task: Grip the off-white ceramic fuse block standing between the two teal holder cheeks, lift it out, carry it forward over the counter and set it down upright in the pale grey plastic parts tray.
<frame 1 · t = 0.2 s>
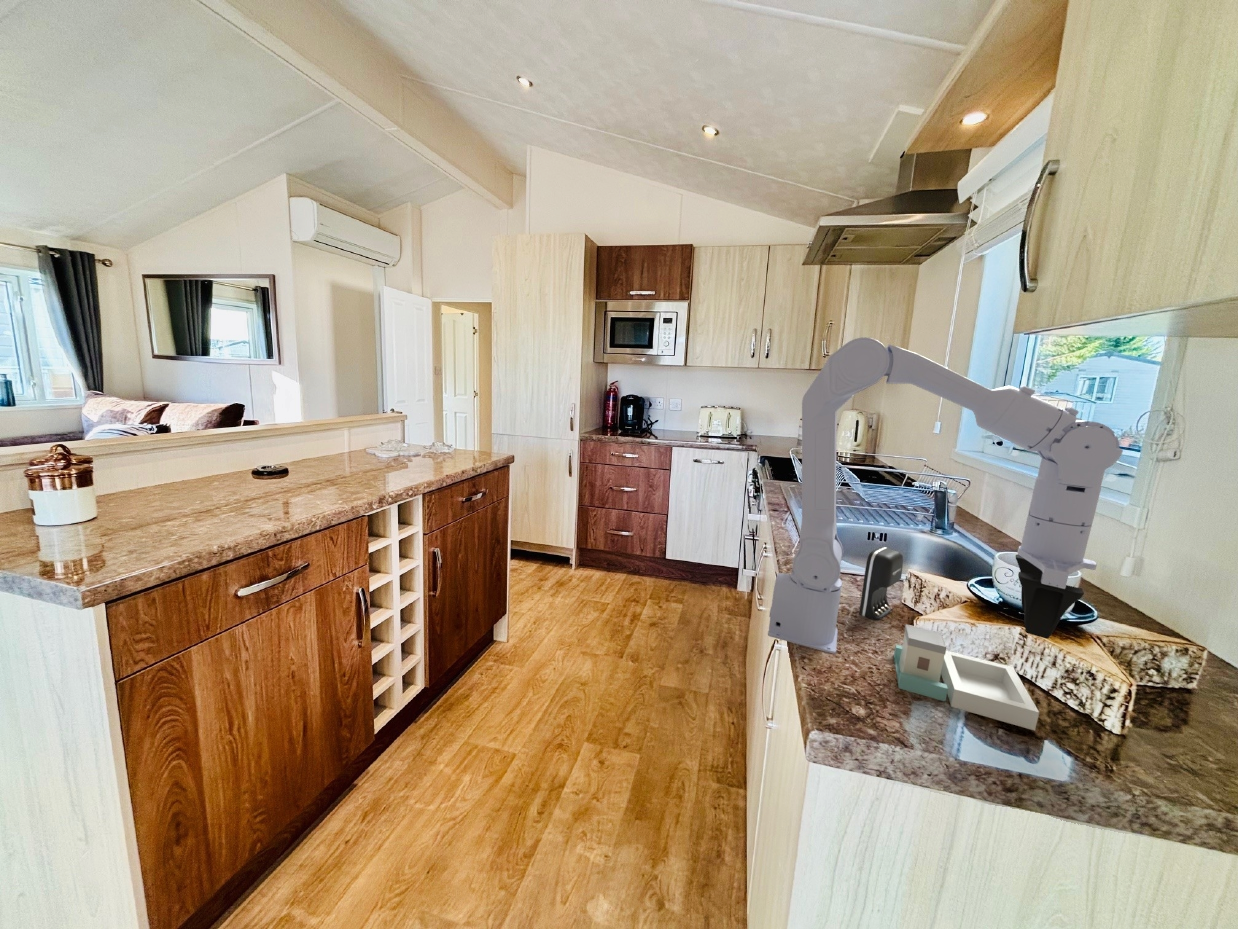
hand: (1034, 623, 60), 10 cm above the countertop, tool pointing down, fingers open, 7 cm apart
fuse: (917, 676, 63), resting on holder
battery: (877, 615, 81), on the countertop
tray: (981, 696, 60), on the countertop
holder: (917, 678, 63), on the countertop
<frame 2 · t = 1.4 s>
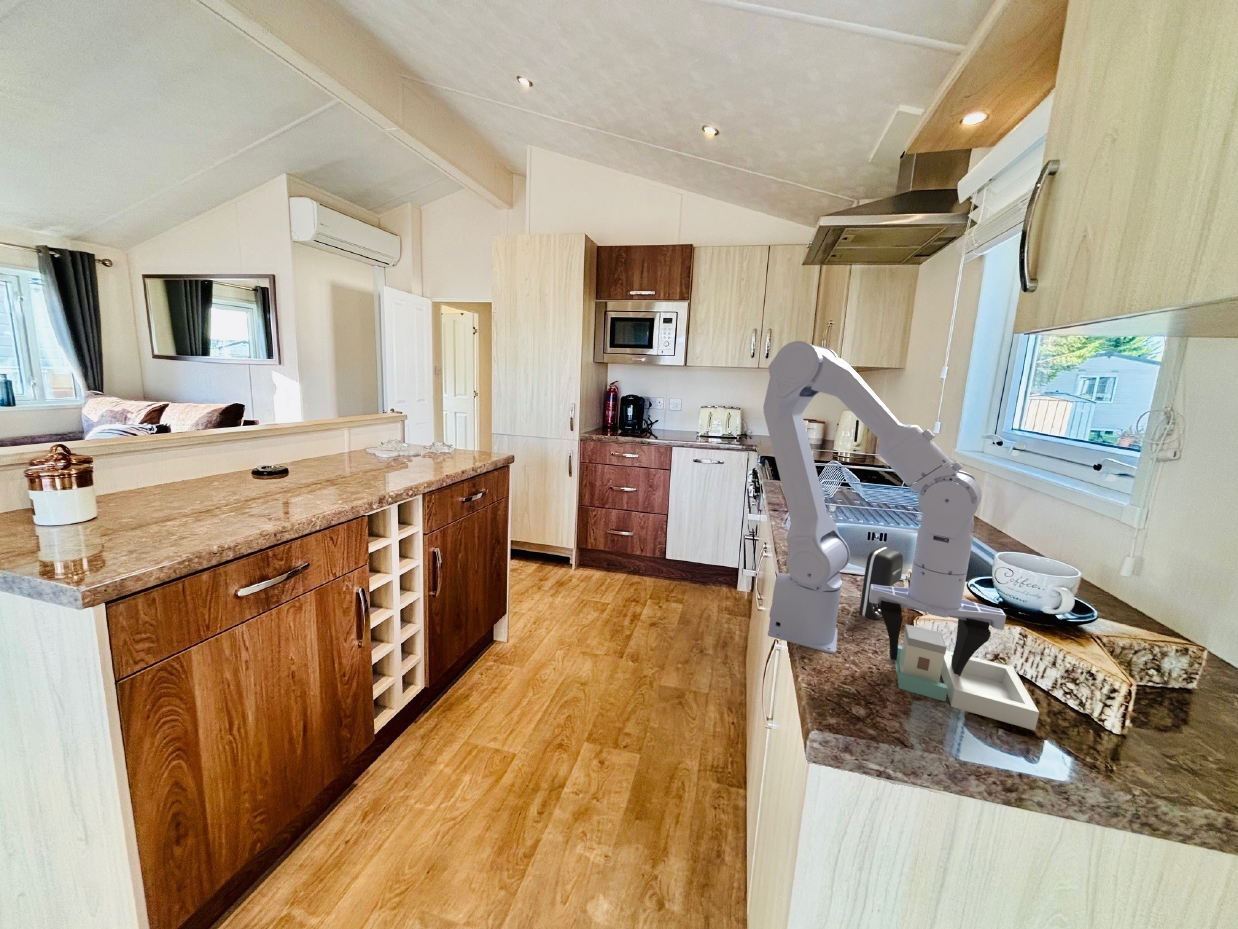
hand: (923, 664, 63), 2 cm above the countertop, tool pointing down, fingers open, 6 cm apart
nothing on the countertop moved.
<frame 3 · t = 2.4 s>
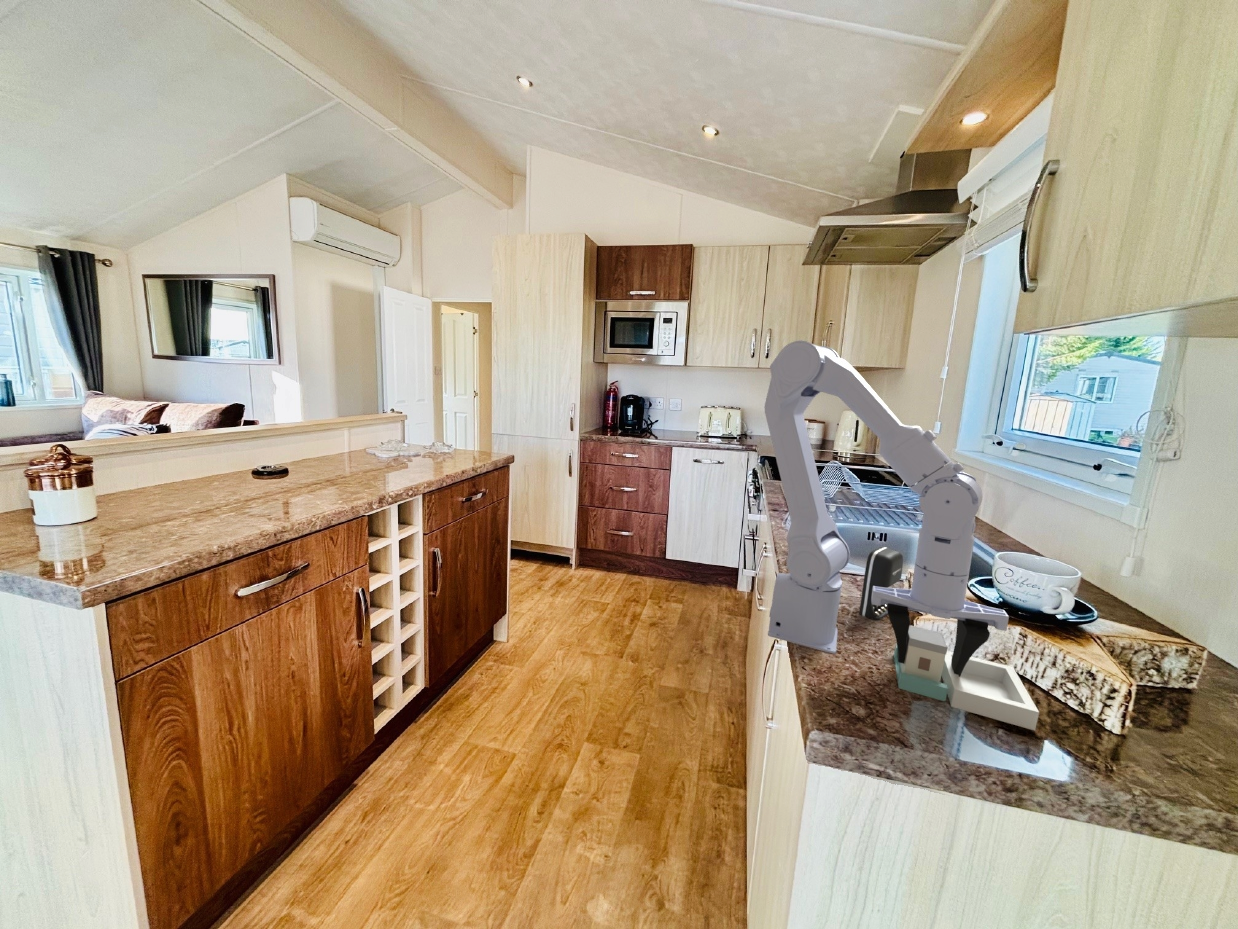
hand: (926, 665, 62), 2 cm above the countertop, tool pointing down, fingers open, 5 cm apart
fuse: (918, 676, 63), resting on holder, touching gripper
everything else where it was.
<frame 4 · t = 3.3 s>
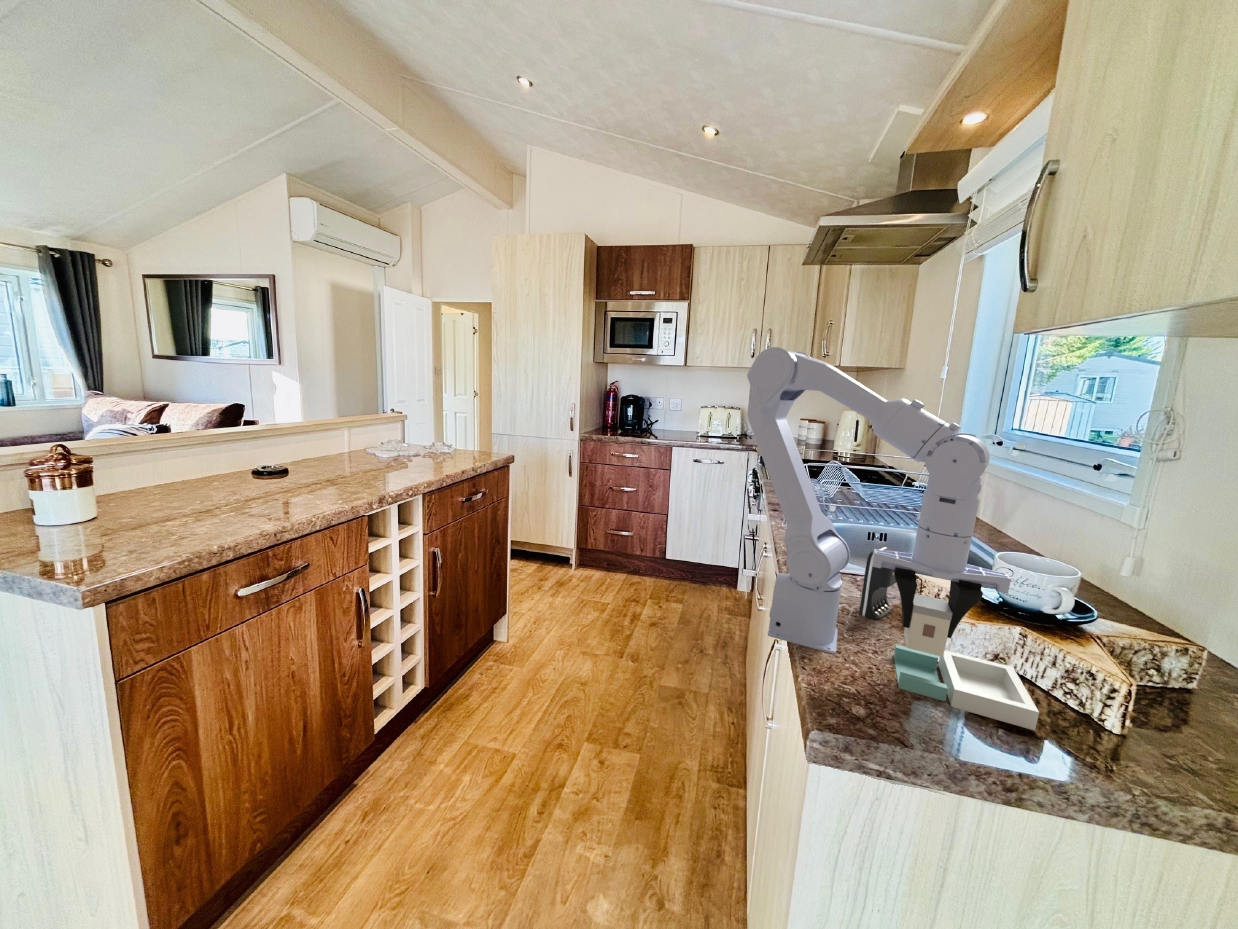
hand: (925, 629, 62), 7 cm above the countertop, tool pointing down, fingers closed on fuse, 4 cm apart
fuse: (922, 644, 62), point 5 cm above the countertop, touching gripper
everything else where it was.
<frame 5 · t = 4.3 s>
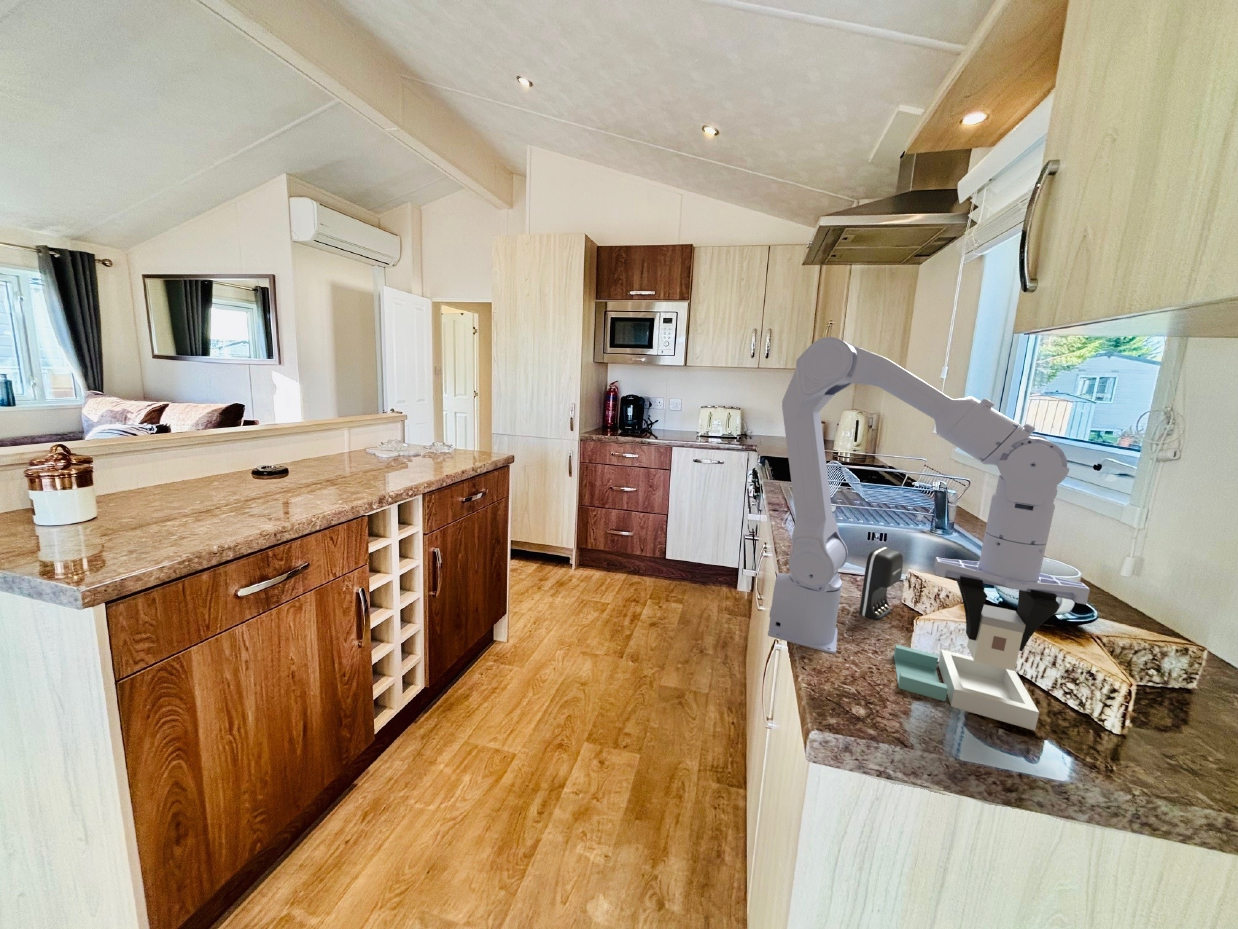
hand: (993, 641, 59), 8 cm above the countertop, tool pointing down, fingers closed on fuse, 4 cm apart
fuse: (989, 657, 59), point 5 cm above the countertop, touching gripper
everything else where it was.
when the fingers open (4 cm above the countertop, at t = 5.7 s): fuse stays where it is, resting on tray.
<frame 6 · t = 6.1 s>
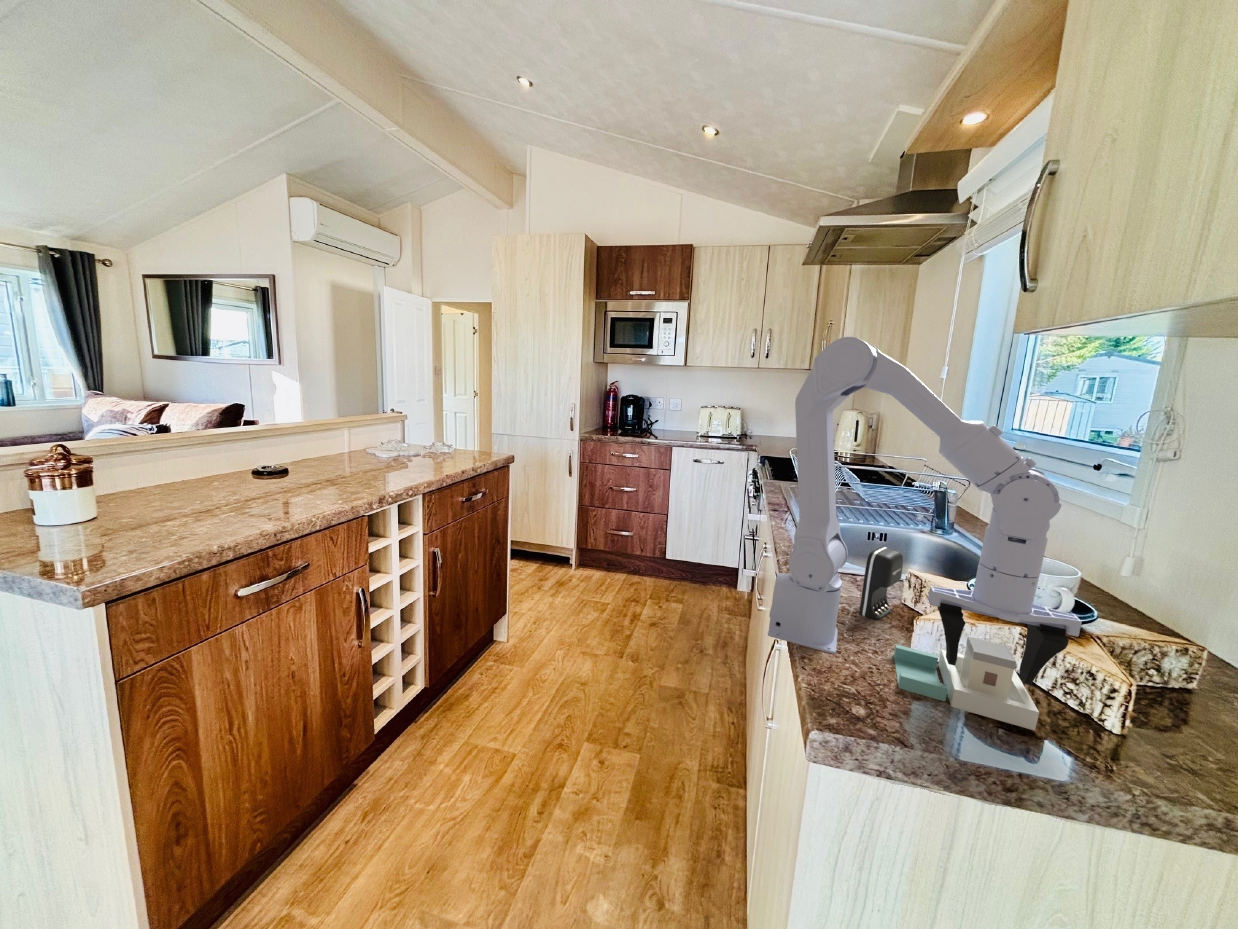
hand: (986, 670, 60), 4 cm above the countertop, tool pointing down, fingers open, 7 cm apart
fuse: (981, 691, 60), point 1 cm above the countertop, touching tray
everything else where it was.
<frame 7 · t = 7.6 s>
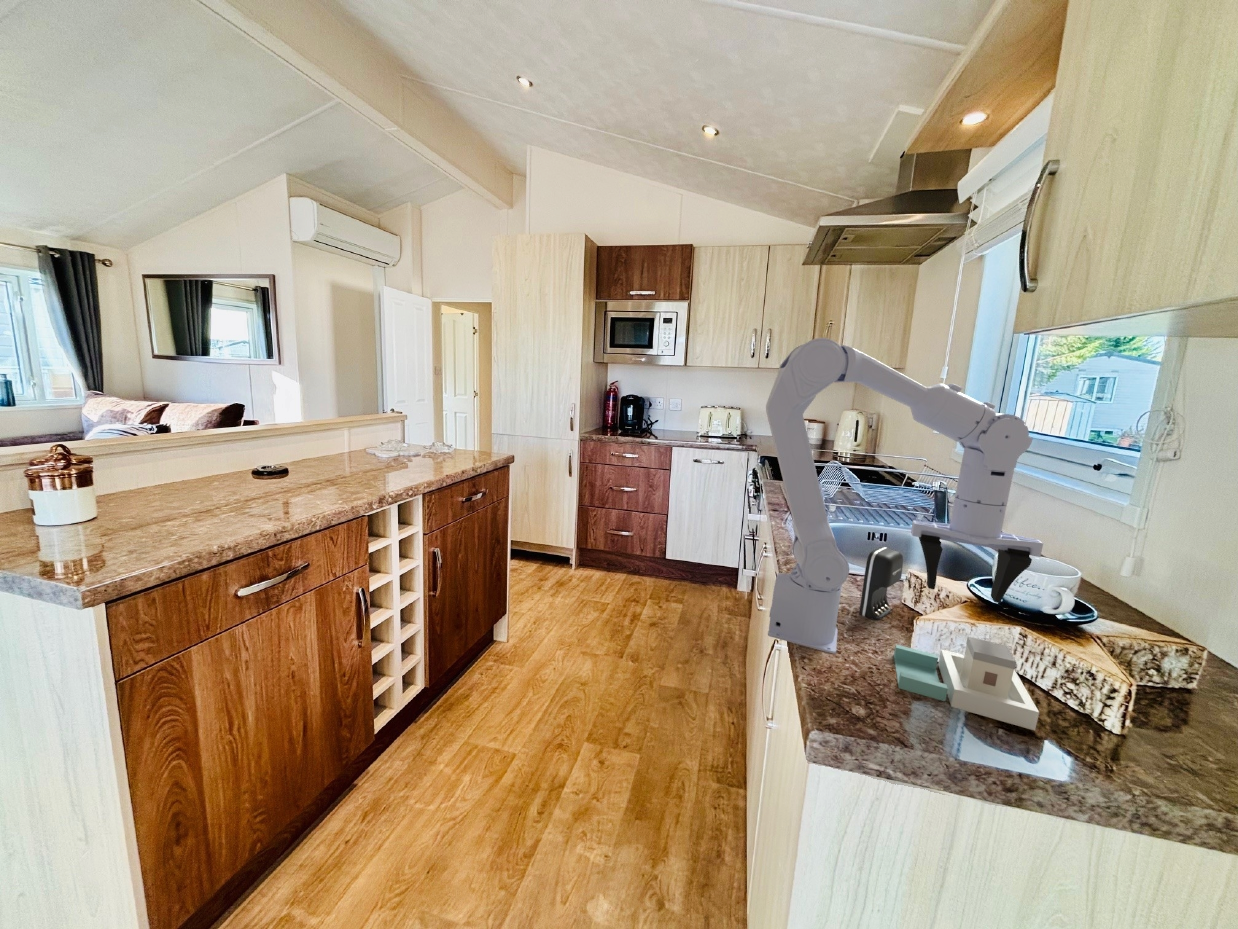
hand: (962, 593, 67), 10 cm above the countertop, tool pointing down, fingers open, 7 cm apart
nothing on the countertop moved.
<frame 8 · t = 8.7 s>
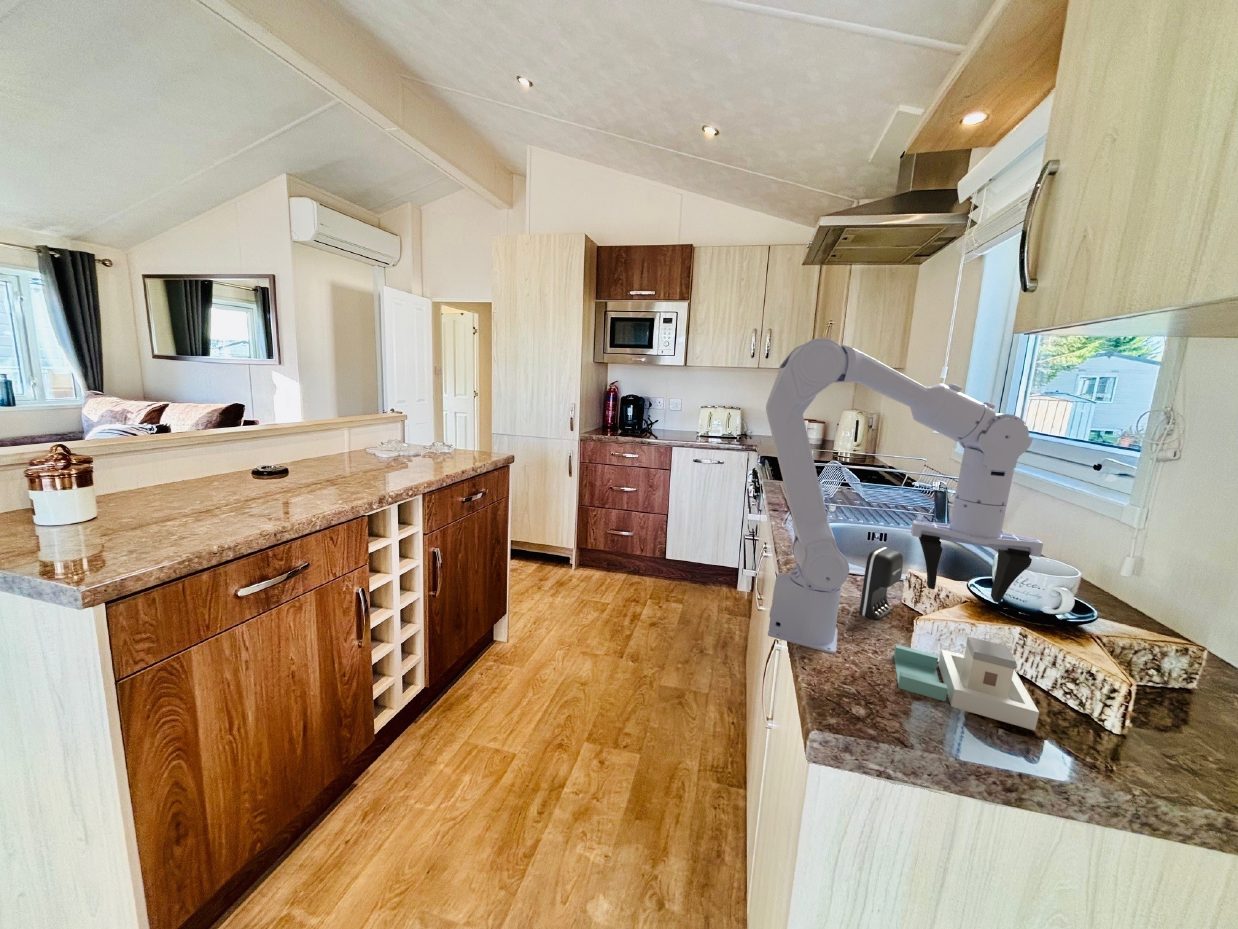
hand: (962, 593, 67), 10 cm above the countertop, tool pointing down, fingers open, 7 cm apart
nothing on the countertop moved.
at the end: fuse inside the target area on the tray (0.0 cm from its centre), point 0.6 cm above the tray's base; fuse tilted 0°; fuse touching tray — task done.
